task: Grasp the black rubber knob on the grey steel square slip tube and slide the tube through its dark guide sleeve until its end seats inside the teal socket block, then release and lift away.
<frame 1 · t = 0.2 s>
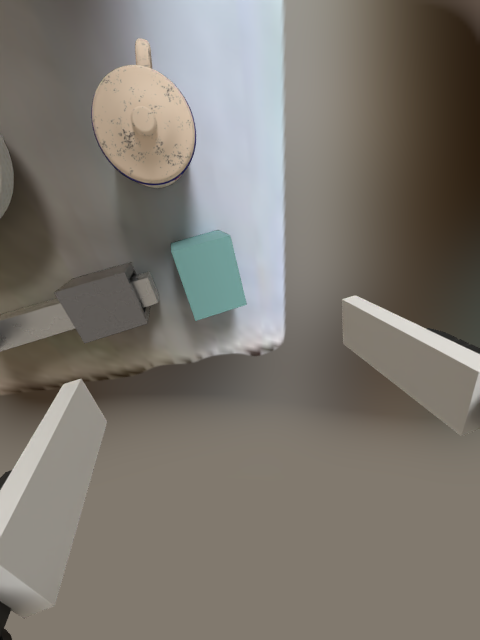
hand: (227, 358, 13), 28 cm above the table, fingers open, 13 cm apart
teacup with lid: (151, 134, 31), on the table
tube: (57, 322, 30), point 6 cm above the table, slide at 0.0 cm
socket: (203, 266, 38), on the table
sleeve: (113, 293, 37), on the table
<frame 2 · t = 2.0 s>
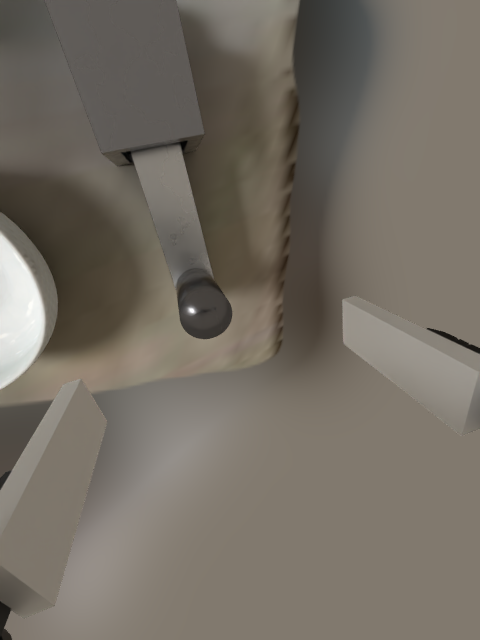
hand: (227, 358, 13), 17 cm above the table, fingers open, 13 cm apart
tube: (161, 166, 18), point 6 cm above the table, slide at 0.0 cm
sleeve: (140, 102, 21), on the table
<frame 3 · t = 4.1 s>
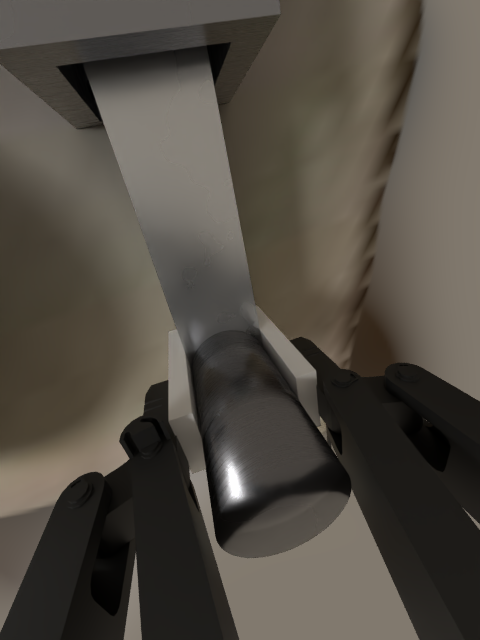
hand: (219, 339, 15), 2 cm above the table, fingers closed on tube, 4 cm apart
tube: (163, 104, 7), point 6 cm above the table, slide at 0.0 cm, touching gripper
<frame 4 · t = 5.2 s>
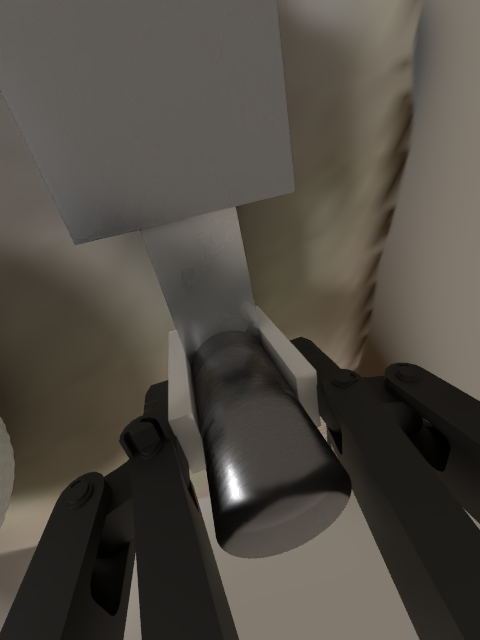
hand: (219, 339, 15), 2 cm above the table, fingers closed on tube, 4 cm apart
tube: (161, 105, 7), point 6 cm above the table, slide at 4.2 cm, touching gripper
sleeve: (156, 120, 12), on the table
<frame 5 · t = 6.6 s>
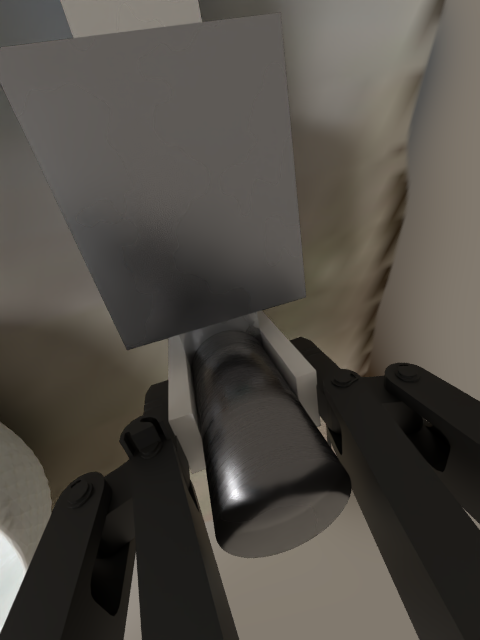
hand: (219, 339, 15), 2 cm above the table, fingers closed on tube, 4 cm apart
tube: (163, 104, 7), point 6 cm above the table, slide at 8.0 cm, touching gripper
sleeve: (181, 207, 13), on the table
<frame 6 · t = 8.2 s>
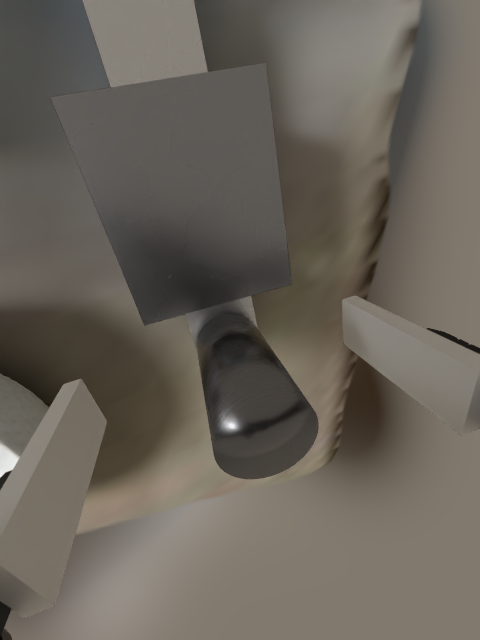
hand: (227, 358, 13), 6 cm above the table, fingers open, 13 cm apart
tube: (177, 131, 9), point 6 cm above the table, slide at 8.0 cm
sleeve: (188, 209, 16), on the table
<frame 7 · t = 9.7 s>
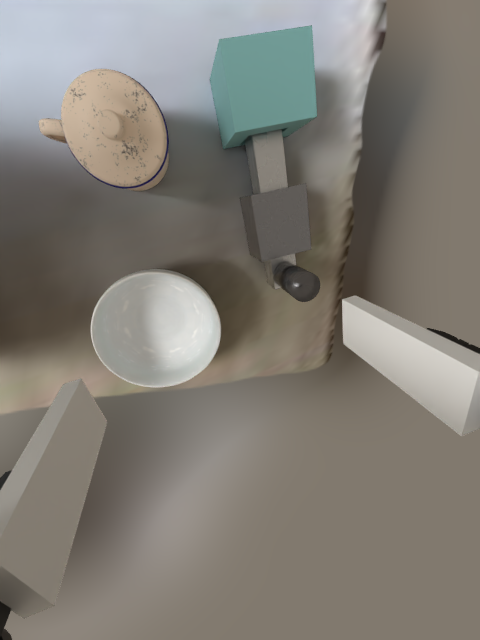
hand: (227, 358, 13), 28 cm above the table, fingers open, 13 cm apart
cereal bowl: (162, 315, 40), on the table
teacup with lid: (120, 150, 31), on the table
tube: (280, 202, 31), point 6 cm above the table, slide at 8.0 cm
socket: (251, 109, 32), on the table
sleeve: (267, 221, 38), on the table
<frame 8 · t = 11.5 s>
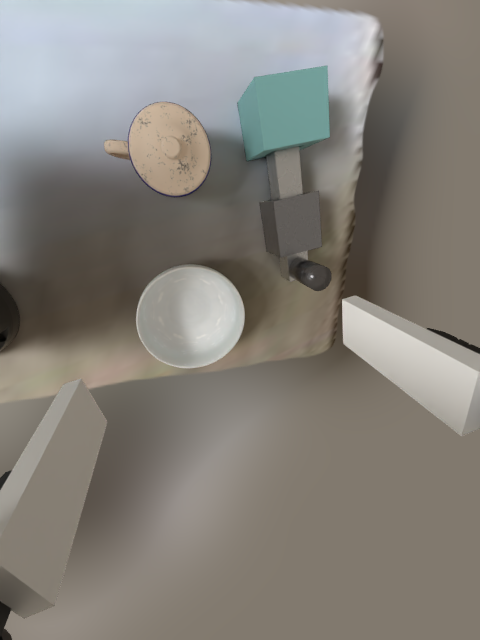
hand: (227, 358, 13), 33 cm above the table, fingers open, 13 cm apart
cereal bowl: (190, 305, 46), on the table
teacup with lid: (160, 162, 36), on the table
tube: (297, 206, 37), point 6 cm above the table, slide at 8.0 cm
socket: (271, 127, 38), on the table
sleeve: (282, 223, 44), on the table
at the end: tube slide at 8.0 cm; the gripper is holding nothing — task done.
